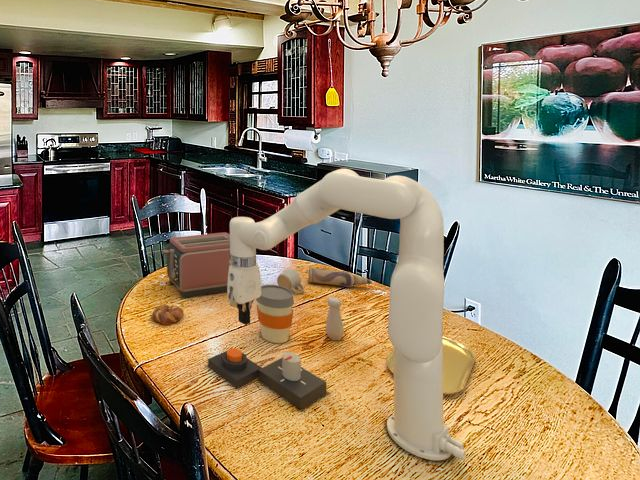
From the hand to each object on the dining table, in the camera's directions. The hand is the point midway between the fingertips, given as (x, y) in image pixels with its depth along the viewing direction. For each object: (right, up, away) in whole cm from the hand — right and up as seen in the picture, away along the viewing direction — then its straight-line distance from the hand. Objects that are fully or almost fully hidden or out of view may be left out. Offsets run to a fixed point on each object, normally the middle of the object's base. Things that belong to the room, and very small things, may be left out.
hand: (244, 322), depth 117 cm
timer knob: (+11, -11, -8) cm, 17 cm away
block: (-3, -14, 0) cm, 14 cm away
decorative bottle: (+54, -15, +60) cm, 82 cm away
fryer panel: (+11, -14, -8) cm, 19 cm away
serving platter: (+57, -14, +2) cm, 58 cm away
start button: (-3, -10, 0) cm, 11 cm away
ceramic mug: (+33, -15, +56) cm, 66 cm away
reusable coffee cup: (+14, -14, +18) cm, 27 cm away
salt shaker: (+34, -14, +17) cm, 41 cm away
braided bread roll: (-22, -15, +31) cm, 41 cm away
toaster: (-6, -15, +60) cm, 62 cm away
